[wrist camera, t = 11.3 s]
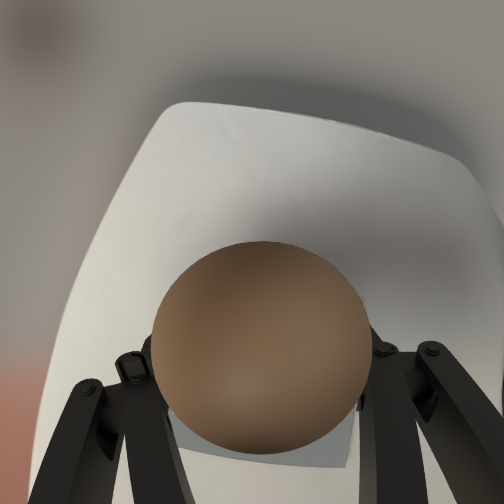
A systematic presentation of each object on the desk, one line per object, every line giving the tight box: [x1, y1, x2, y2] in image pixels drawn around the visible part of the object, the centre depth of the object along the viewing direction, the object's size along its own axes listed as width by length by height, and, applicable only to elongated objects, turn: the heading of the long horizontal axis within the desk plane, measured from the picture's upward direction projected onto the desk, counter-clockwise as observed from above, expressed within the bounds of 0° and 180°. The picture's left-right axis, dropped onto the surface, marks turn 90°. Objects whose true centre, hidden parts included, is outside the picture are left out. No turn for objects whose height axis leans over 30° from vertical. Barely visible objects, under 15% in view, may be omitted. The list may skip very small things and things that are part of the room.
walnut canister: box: [151, 241, 372, 455], centre depth 13 cm, size 6×6×12 cm
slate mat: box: [168, 406, 355, 468], centre depth 20 cm, size 14×12×1 cm
